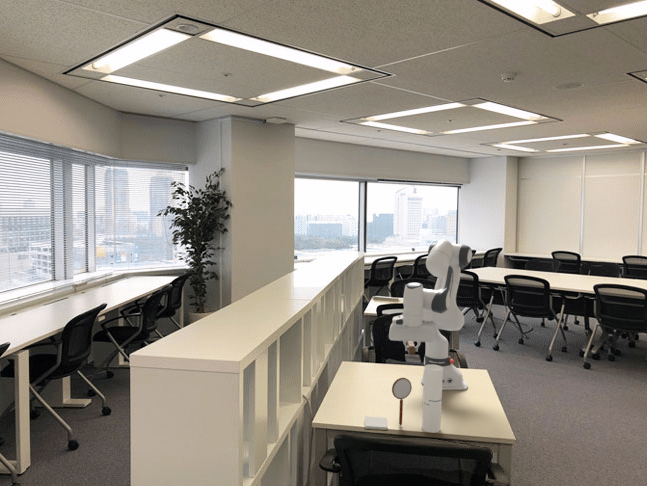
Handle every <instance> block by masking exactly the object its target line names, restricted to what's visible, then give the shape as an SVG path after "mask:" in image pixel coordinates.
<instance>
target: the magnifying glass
mask: <svg viewBox="0 0 647 486" xmlns="http://www.w3.org/2000/svg"><path fill="white" fill-rule="evenodd" d="M391 392H392V395H393V396H394V398H396V399H398V400H399V414H398V415H399V417H398V421H399V422H398V424H399V427H400V426H401V427H402V425H403V411H404V410H403V409H404V408H403V407H404V406H403V405H404V399H406V398H407V397H409V395H410V394H411V392H412V383H411V381H410V380H409V379H408V378H406V377H400V378H398V379H396V380H395V381H394V382H393V384H392V387H391Z"/></svg>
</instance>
